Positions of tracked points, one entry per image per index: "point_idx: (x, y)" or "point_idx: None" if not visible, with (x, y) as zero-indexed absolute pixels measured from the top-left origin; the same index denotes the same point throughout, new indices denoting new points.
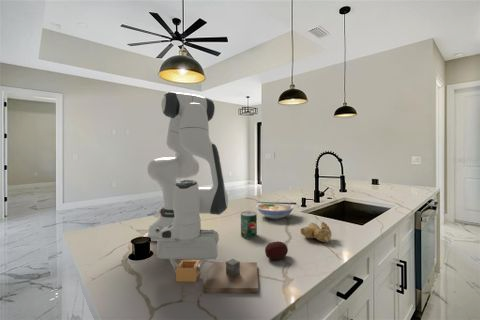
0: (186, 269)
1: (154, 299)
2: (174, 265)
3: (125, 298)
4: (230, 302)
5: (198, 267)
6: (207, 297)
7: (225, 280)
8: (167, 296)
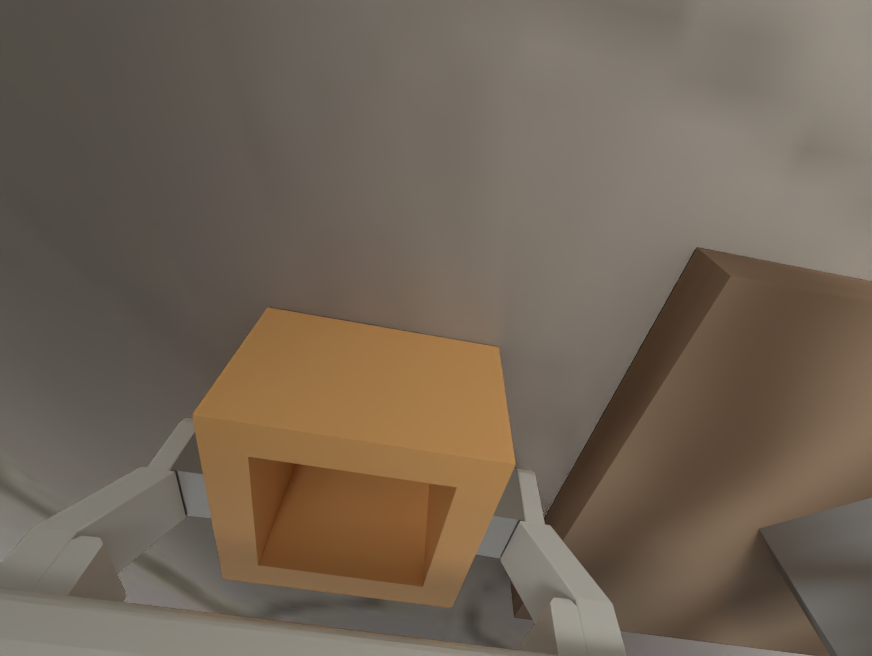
0: (349, 594)
1: (207, 577)
2: (163, 530)
3: (11, 549)
4: (642, 640)
5: (485, 548)
6: None
7: (699, 590)
8: None
